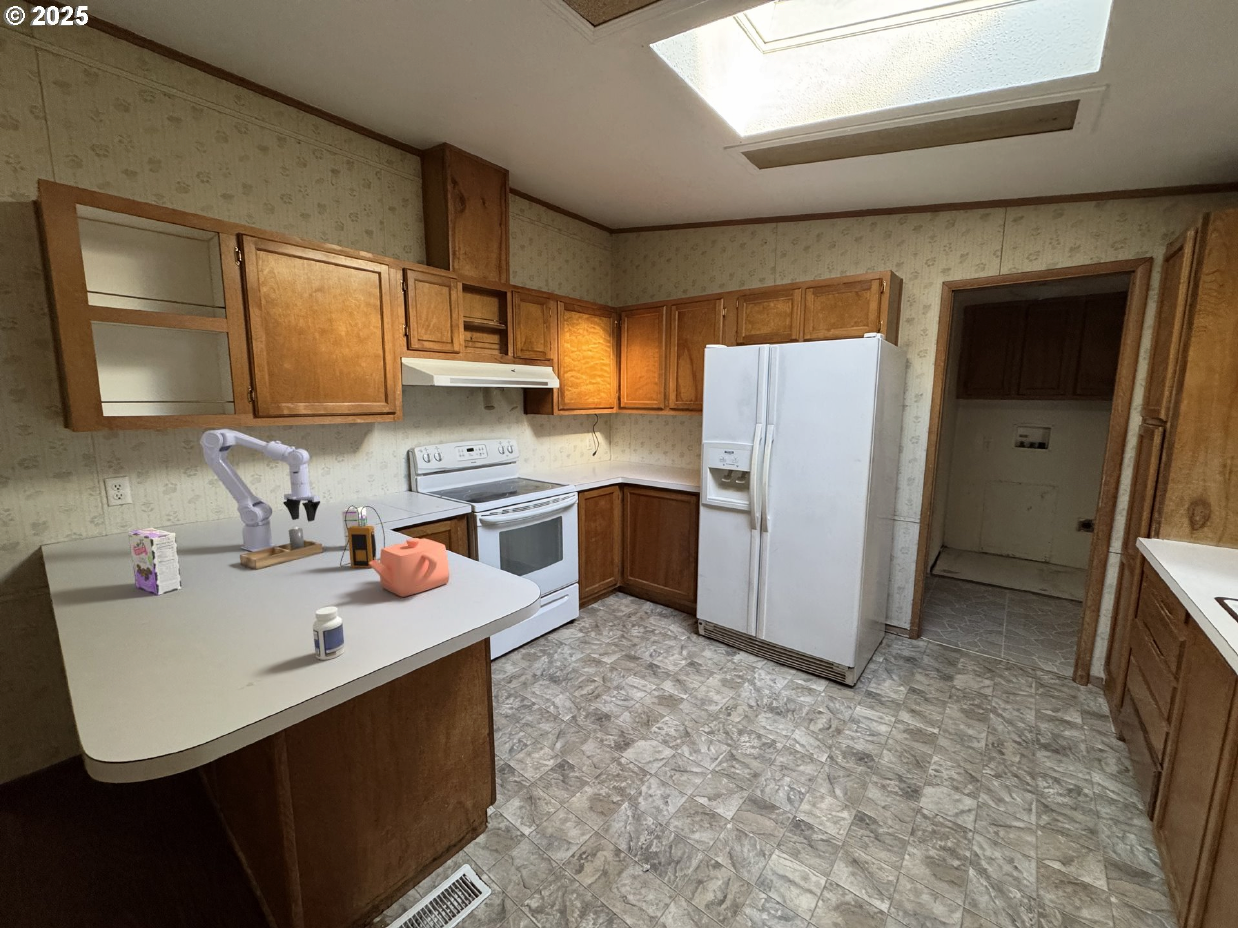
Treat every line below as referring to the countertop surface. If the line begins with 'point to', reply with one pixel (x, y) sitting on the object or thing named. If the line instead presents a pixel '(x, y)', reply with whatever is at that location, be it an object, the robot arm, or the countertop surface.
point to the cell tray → (279, 555)
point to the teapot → (412, 566)
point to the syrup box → (353, 520)
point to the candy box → (155, 560)
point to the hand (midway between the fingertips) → (303, 520)
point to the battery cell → (296, 538)
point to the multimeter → (361, 543)
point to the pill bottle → (328, 634)
